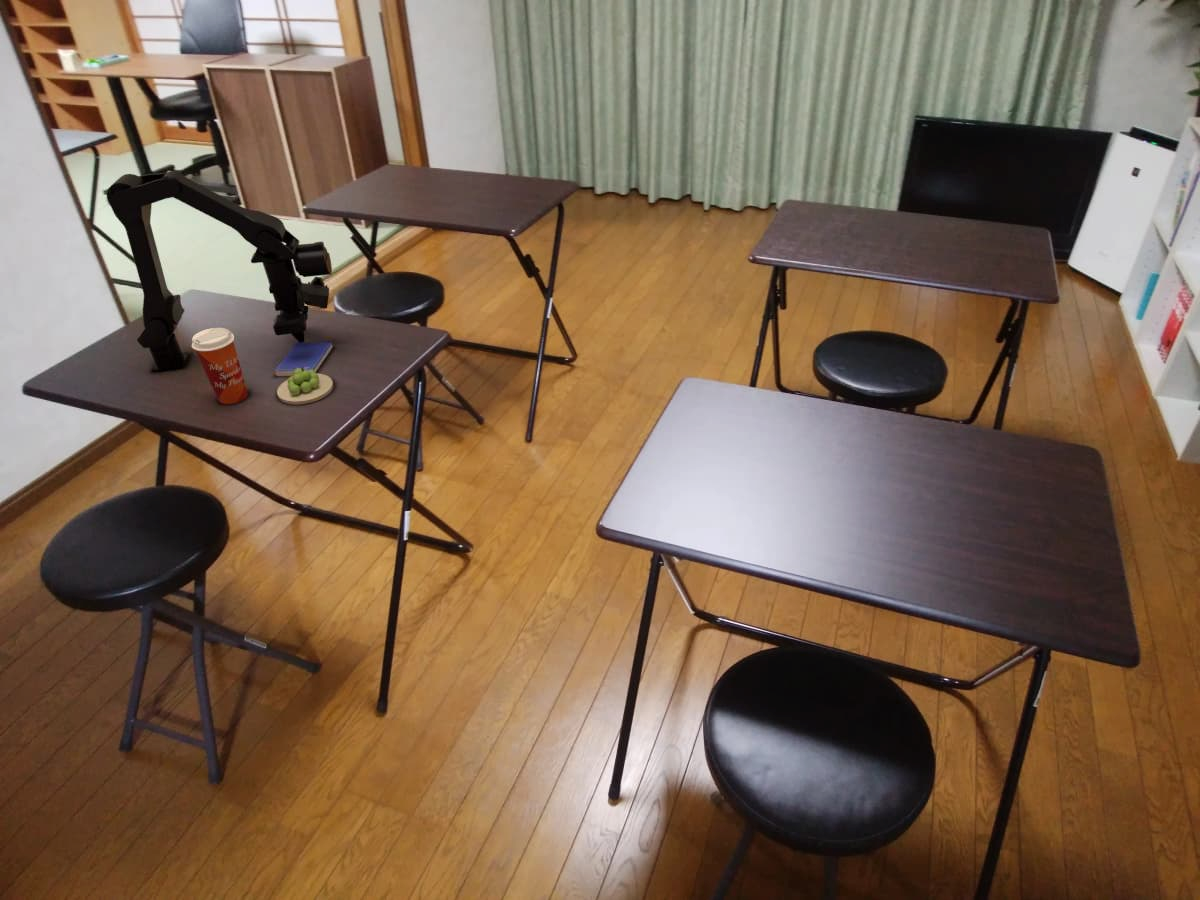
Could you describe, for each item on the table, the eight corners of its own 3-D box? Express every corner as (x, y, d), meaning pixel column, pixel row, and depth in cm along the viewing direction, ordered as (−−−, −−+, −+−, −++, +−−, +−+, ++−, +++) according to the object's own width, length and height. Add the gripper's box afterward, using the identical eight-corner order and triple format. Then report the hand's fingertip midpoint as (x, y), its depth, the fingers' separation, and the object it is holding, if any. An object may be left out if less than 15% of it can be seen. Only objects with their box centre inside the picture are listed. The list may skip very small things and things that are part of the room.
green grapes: (290, 379, 158) (284, 359, 155) (321, 375, 159) (315, 355, 157) (287, 398, 152) (280, 377, 150) (319, 393, 154) (313, 372, 151)
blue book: (312, 369, 160) (331, 342, 170) (274, 369, 160) (295, 342, 170) (313, 376, 161) (332, 348, 171) (276, 376, 161) (297, 348, 171)
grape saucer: (280, 380, 160) (279, 377, 159) (334, 373, 162) (333, 370, 161) (275, 408, 151) (274, 404, 151) (332, 400, 153) (331, 396, 153)
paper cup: (226, 411, 151) (202, 348, 142) (205, 399, 154) (181, 337, 146) (261, 394, 156) (240, 332, 147) (240, 382, 159) (218, 322, 151)
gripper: (320, 292, 155) (338, 357, 165) (322, 255, 169) (339, 317, 179) (263, 300, 153) (285, 365, 163) (270, 261, 167) (290, 324, 177)
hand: (302, 341), depth 171 cm, fingers closed, pressing on blue book
